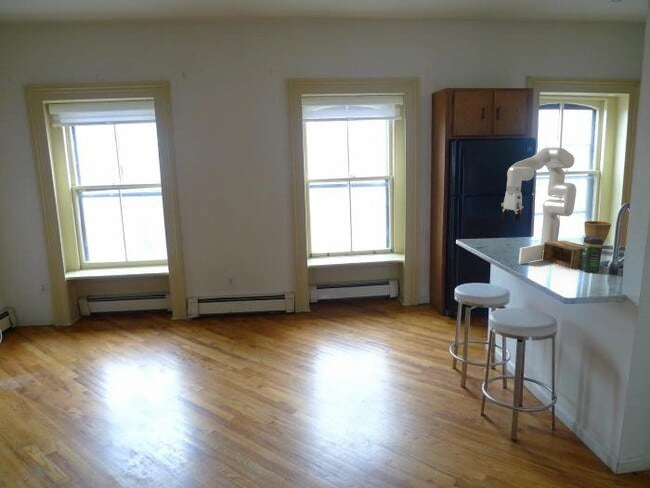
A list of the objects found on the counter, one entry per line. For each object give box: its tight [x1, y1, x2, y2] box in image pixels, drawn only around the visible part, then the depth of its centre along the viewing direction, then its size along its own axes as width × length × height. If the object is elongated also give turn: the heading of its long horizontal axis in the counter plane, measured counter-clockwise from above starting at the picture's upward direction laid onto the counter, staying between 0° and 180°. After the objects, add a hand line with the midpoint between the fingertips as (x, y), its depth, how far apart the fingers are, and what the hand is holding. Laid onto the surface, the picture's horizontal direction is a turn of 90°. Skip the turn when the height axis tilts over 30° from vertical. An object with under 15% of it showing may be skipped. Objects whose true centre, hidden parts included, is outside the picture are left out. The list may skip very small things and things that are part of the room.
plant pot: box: [583, 220, 612, 245], centre depth 284 cm, size 15×15×16 cm
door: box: [518, 244, 544, 265], centre depth 248 cm, size 2×19×9 cm, turn 118°
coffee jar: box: [579, 235, 604, 274], centre depth 229 cm, size 10×8×19 cm
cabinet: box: [542, 239, 583, 270], centre depth 245 cm, size 14×20×11 cm
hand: (510, 219), depth 250 cm, fingers open, 9 cm apart
